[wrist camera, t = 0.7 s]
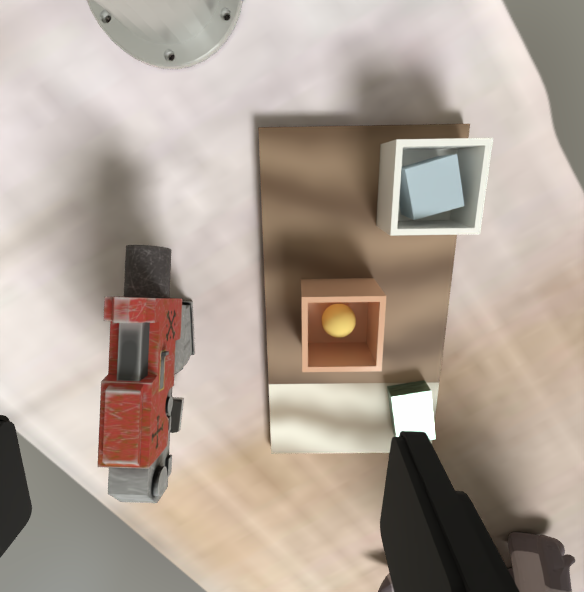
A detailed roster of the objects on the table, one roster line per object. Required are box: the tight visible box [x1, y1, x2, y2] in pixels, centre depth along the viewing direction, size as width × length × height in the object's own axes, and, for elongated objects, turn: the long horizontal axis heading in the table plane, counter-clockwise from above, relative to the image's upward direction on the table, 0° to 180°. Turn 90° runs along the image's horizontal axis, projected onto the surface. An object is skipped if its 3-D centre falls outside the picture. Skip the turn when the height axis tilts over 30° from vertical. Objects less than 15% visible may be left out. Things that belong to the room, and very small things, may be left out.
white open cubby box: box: [376, 138, 493, 236], centre depth 32 cm, size 7×7×6 cm
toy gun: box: [98, 245, 195, 503], centre depth 33 cm, size 4×20×15 cm, turn 178°
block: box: [399, 154, 464, 220], centre depth 32 cm, size 4×4×4 cm
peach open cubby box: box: [301, 278, 386, 372], centre depth 35 cm, size 7×7×6 cm
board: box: [258, 124, 470, 454], centre depth 39 cm, size 34×18×1 cm, turn 1°
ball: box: [322, 304, 356, 338], centre depth 36 cm, size 3×3×3 cm
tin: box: [387, 380, 435, 440], centre depth 40 cm, size 6×4×2 cm, turn 11°
